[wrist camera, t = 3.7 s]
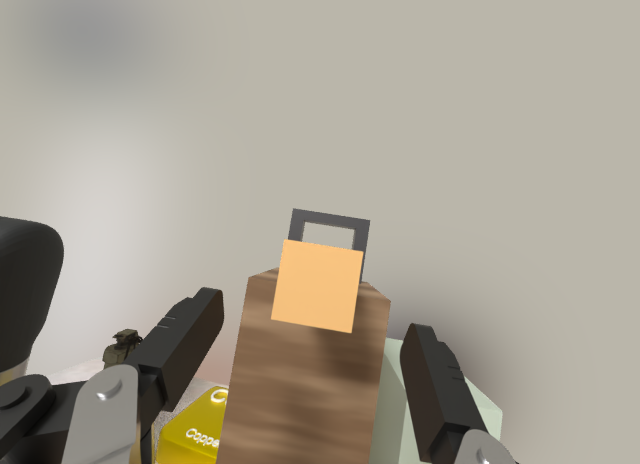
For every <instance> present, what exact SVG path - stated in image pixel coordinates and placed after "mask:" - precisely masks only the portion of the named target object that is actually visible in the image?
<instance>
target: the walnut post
mask: <svg viewBox="0 0 640 464" xmlns="http://www.w3.org/2000/svg"><path fill="white" fill-rule="evenodd" d="M278 274H279V268H275V269H272V270H269V271H266V272H263V273H260V274H257V275H254V276H252V277H249V278H248V284H247V289H246V295H245V301H244V306H243V312H242V318H241V323H240V329H239V334H238V340H237V345H236V351H235V357H234V363H233V368H232V374H231V379H230V385H229V390H228V396H227V402H226V407H225V413H224V418H223V424H222V430H221V435H220V441H219V446H218V452H217V458H216V463H215V464H368V463H369V455H370V448H371V441H372V434H373V426H374V419H375V412H376V405H377V397H378V390H379V383H380V376H381V368H382V361H383V354H384V347H385V339H386V332H387V325H388V318H389V310H390V302H391V301H390V300H389V299H387V298H386V297H385V296H384V295H382V294H381V293H380V292H379V291H377V290H376V289H375V288H374V287H372V286H371V285H370V284H369V283H367V282H362V281H361V284H359V285H358V292H357V298H356V305H355V312H354V319H353V326H352V332H351V333H347V332H341V331H335V330H330V329H324V328H318V327H312V326H307V325H301V324H295V323H289V322H284V321H278V320H272V319H271V315H272V309H273V303H274V297H275V291H276V285H277V280H278Z"/></svg>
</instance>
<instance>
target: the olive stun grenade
mask: <svg viewBox="0 0 640 464" xmlns="http://www.w3.org/2000/svg"><path fill="white" fill-rule="evenodd" d="M113 338H117V340H116V341H117V344H113V345H110V346H108V347H107V348H106V349H105V351H104V355H103V360H102V361H104V362H105V365H104V369H106V368H109V367H112V366H115V365H120V364H121V363H122V362H123V361H124V360H125V359H126V358H127V357H128V356H129V355H130V354H131V353H132V351H133V350H134V349H135V348H136V347H137V346H138V345H139V343H141V342H142V340H143V339H142V337H139V336H138V332H137V330H131V329H125V330H123V331H121V332H118V333H117V334H116V335H114V336H113ZM139 338H140V339H141V340H140V339H139ZM104 369H103V370H104Z"/></svg>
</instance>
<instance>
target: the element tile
mask: <svg viewBox="0 0 640 464" xmlns="http://www.w3.org/2000/svg"><path fill="white" fill-rule="evenodd" d="M228 390H229V389H227V388H224V387H218V386H216V387H213V388H211V389H209V390H208V391H207V392H205V393H204V394H203V395H202V396H200V397H199V398H198V399H197V400H195V401H194V402H193V403H192V404H191V405H189V406H188V407H187V408H186V409H184V410H183V411H182V412H181V413H179V414H178V415H177V416H176V417H174V418H173V419H172V420H171V421H169V422H168V423H167V424H166V425H165V426H164V427H163V428H162V430H161V431H160V435H159V440H158V446H157V451H156V457H155V460H156V461H157V463H159V464H215V463H216V458H217V452H218V446H219V441H220V435H221V430H222V424H223V418H224V413H225V407H226V402H227V396H228Z"/></svg>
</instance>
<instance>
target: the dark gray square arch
mask: <svg viewBox="0 0 640 464" xmlns="http://www.w3.org/2000/svg"><path fill="white" fill-rule="evenodd" d="M305 222H310V223H316V224H323V225H329V226H336V227H342V228H348V229H354V230H355V231H354V237H353V244H352V250H356V251H362V252H363V258H362V265H361V271H360V278H359V284H361V280H362V273H363V266H364V259H365V252H366V246H367V239H368V232H369V225H370V220H365V219H358V218H352V217H345V216H339V215H332V214H326V213H320V212H312V211H307V210H300V209H293V213H292V218H291V224H290V231H289V236H288V240H293V241H300V242H302V237H303V231H304V225H305Z"/></svg>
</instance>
